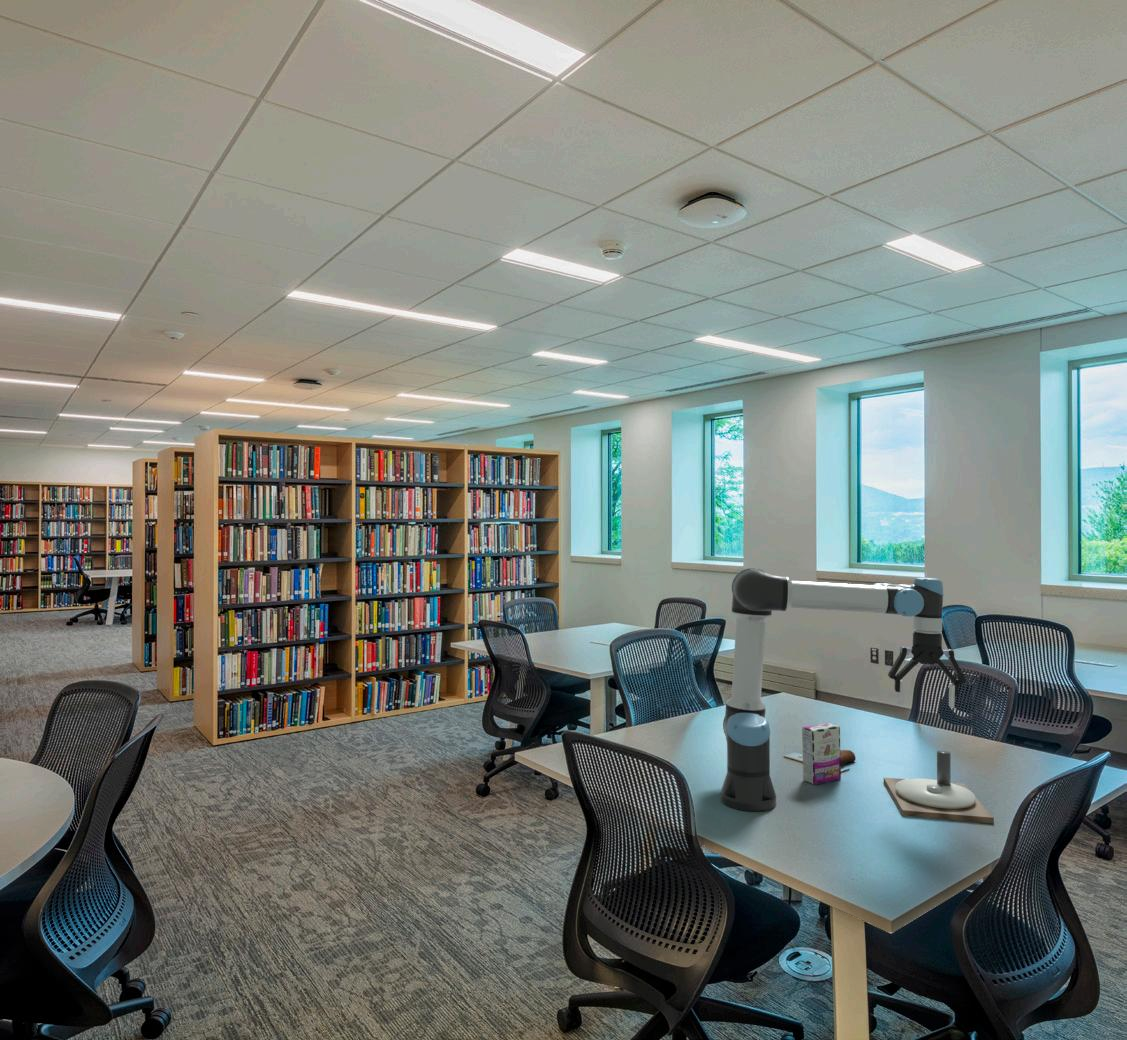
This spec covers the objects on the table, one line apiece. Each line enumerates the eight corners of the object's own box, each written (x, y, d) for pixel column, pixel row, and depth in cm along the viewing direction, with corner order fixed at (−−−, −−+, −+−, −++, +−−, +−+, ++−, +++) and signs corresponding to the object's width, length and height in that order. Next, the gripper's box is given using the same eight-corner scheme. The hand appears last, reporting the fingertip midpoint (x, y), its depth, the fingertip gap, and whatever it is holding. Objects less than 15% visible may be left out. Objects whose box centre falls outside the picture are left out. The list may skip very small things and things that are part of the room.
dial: (962, 814, 192) (962, 775, 192) (884, 795, 206) (884, 758, 206) (984, 794, 206) (984, 758, 206) (910, 777, 220) (910, 743, 220)
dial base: (902, 815, 196) (902, 809, 196) (883, 782, 221) (883, 776, 221) (993, 823, 191) (993, 817, 191) (963, 788, 216) (963, 782, 216)
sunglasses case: (832, 755, 247) (841, 740, 244) (849, 770, 242) (858, 755, 240) (801, 766, 236) (810, 750, 233) (818, 782, 231) (827, 767, 229)
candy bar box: (829, 774, 228) (828, 722, 228) (841, 779, 223) (841, 726, 223) (801, 780, 223) (801, 726, 223) (813, 785, 219) (813, 730, 219)
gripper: (970, 632, 212) (969, 705, 212) (878, 627, 218) (876, 698, 217) (979, 636, 205) (977, 711, 205) (883, 630, 210) (882, 704, 210)
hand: (925, 705), depth 211 cm, fingers open, 13 cm apart
